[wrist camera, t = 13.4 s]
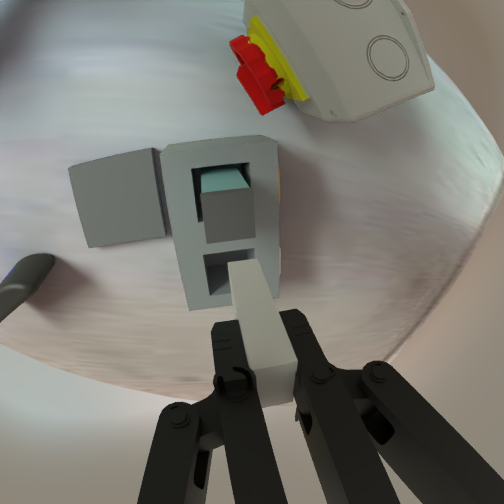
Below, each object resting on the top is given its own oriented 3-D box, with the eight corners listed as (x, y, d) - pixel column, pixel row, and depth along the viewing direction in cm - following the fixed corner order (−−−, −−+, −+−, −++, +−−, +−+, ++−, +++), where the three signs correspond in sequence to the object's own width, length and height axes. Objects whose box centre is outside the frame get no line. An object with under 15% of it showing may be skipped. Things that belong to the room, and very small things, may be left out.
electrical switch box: (210, 41, 28) (184, -5, 11) (306, -1, 24) (364, -58, 8) (264, 125, 35) (291, 161, 19) (355, 84, 32) (445, 93, 15)
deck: (72, 165, 30) (68, 168, 29) (152, 147, 32) (150, 149, 30) (91, 243, 36) (88, 248, 35) (166, 231, 38) (165, 236, 36)
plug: (199, 164, 33) (200, 196, 21) (232, 160, 34) (253, 190, 22) (203, 195, 35) (206, 244, 23) (235, 191, 36) (255, 237, 24)
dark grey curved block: (43, 237, 34) (15, 269, 26) (59, 259, 36) (35, 294, 28) (1, 278, 35) (-22, 309, 27) (15, 296, 37) (-5, 328, 29)
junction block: (168, 145, 32) (159, 154, 25) (264, 134, 34) (281, 141, 27) (189, 277, 42) (189, 310, 35) (268, 266, 44) (282, 297, 37)
